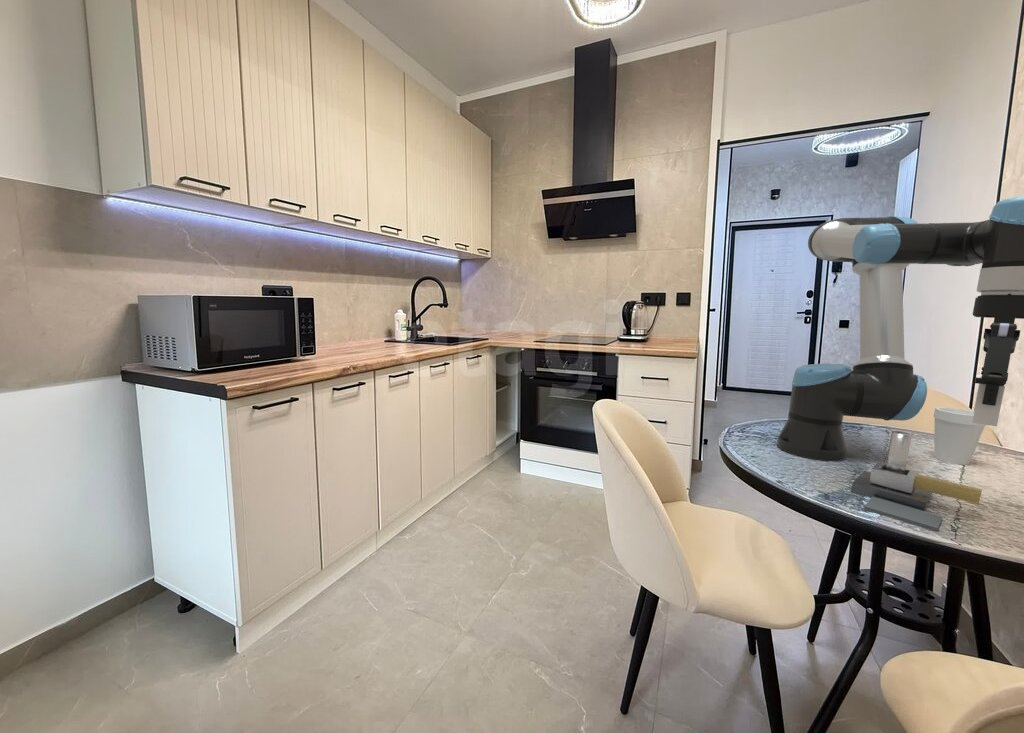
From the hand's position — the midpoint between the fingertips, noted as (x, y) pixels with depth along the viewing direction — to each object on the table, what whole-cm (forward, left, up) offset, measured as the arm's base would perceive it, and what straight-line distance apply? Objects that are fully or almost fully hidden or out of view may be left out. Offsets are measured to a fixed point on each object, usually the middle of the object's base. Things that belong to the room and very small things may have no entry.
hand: (984, 418), depth 74 cm
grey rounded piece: (-5, +47, -20) cm, 51 cm away
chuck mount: (-11, +5, -19) cm, 22 cm away
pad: (-8, -5, -19) cm, 21 cm away
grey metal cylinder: (-11, +5, -17) cm, 21 cm away
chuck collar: (-6, +5, -17) cm, 19 cm away
